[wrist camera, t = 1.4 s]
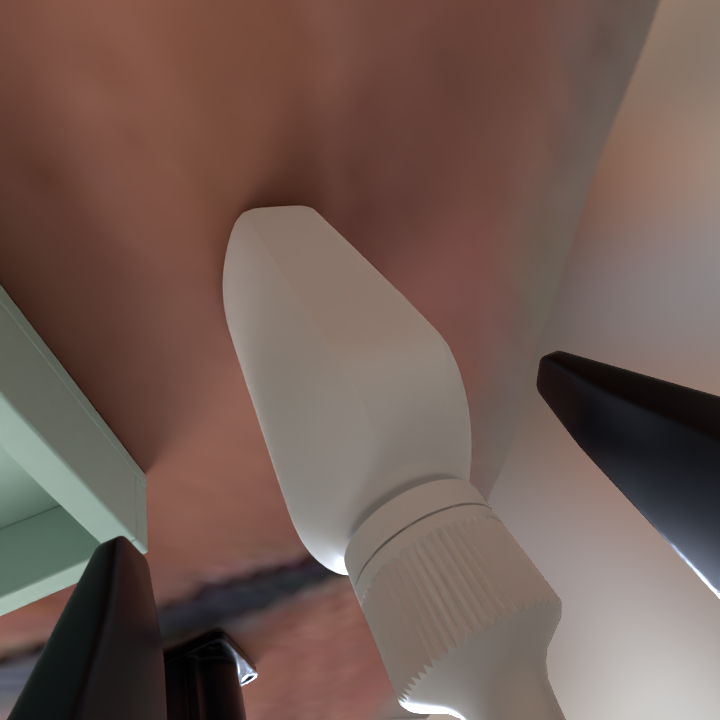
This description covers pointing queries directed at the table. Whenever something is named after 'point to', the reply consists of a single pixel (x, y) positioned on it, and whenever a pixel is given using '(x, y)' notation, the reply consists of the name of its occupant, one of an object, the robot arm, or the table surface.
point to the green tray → (55, 472)
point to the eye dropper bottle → (386, 469)
